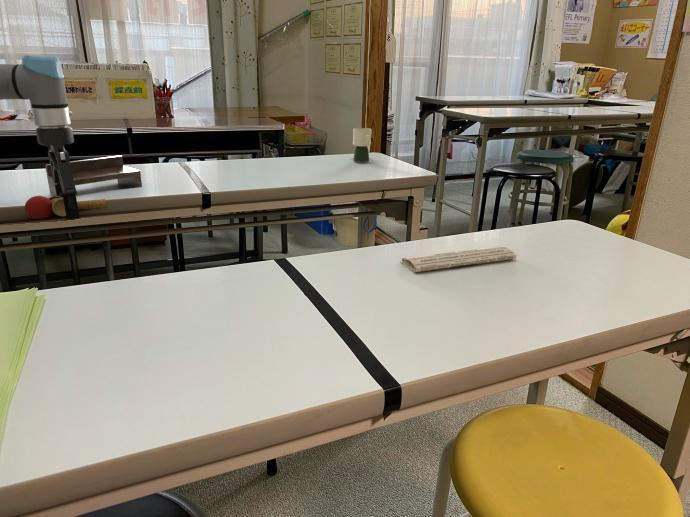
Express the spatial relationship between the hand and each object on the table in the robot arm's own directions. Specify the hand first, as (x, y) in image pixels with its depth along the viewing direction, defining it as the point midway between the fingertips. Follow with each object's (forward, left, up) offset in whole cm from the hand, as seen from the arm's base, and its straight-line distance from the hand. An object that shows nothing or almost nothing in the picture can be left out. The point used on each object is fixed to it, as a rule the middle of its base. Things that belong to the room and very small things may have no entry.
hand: (69, 215), depth 127 cm
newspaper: (+61, -72, 0) cm, 95 cm away
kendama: (0, 0, 0) cm, 0 cm away
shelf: (+11, +23, 0) cm, 25 cm away
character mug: (+109, +25, 0) cm, 112 cm away
